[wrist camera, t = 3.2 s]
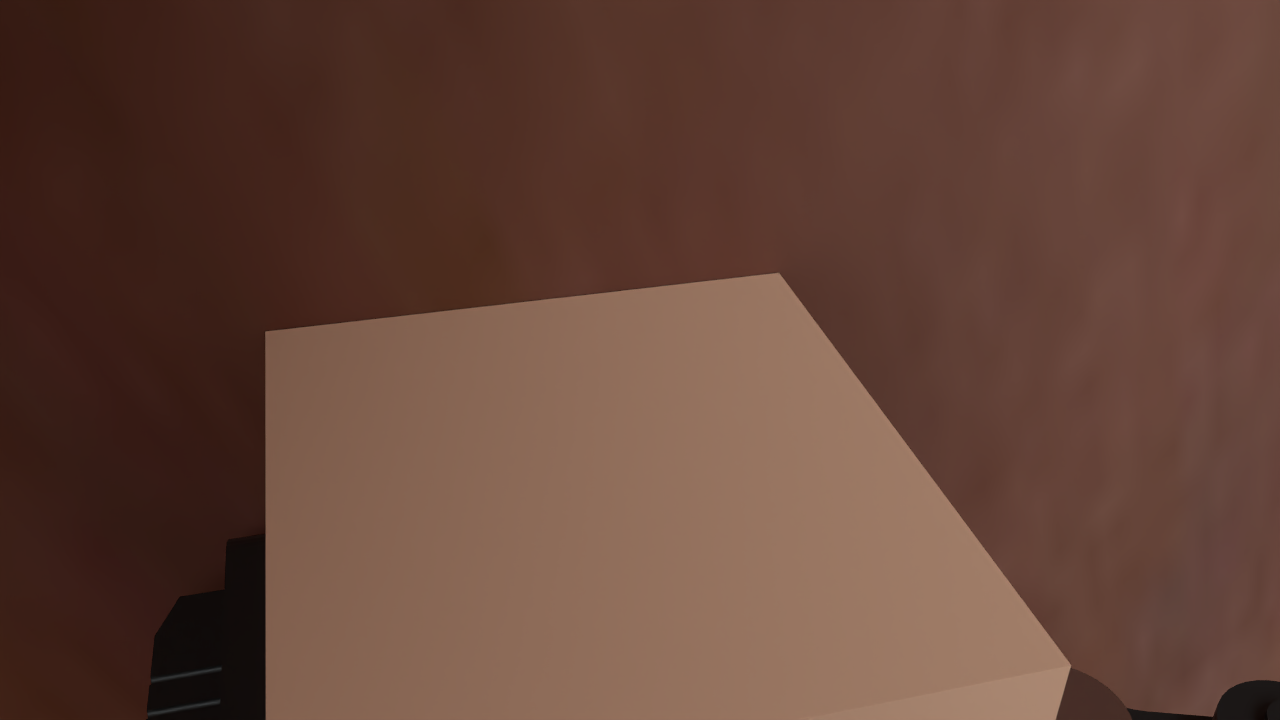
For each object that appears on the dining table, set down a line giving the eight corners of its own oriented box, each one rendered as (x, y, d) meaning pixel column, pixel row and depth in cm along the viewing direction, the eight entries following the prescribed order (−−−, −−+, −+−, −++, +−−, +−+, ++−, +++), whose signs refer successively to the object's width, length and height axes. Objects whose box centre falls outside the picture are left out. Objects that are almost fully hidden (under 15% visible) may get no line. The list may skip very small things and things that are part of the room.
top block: (265, 332, 12) (265, 826, 7) (778, 272, 14) (1071, 664, 9) (331, 708, 15) (364, 1240, 10) (748, 632, 16) (953, 1077, 12)
